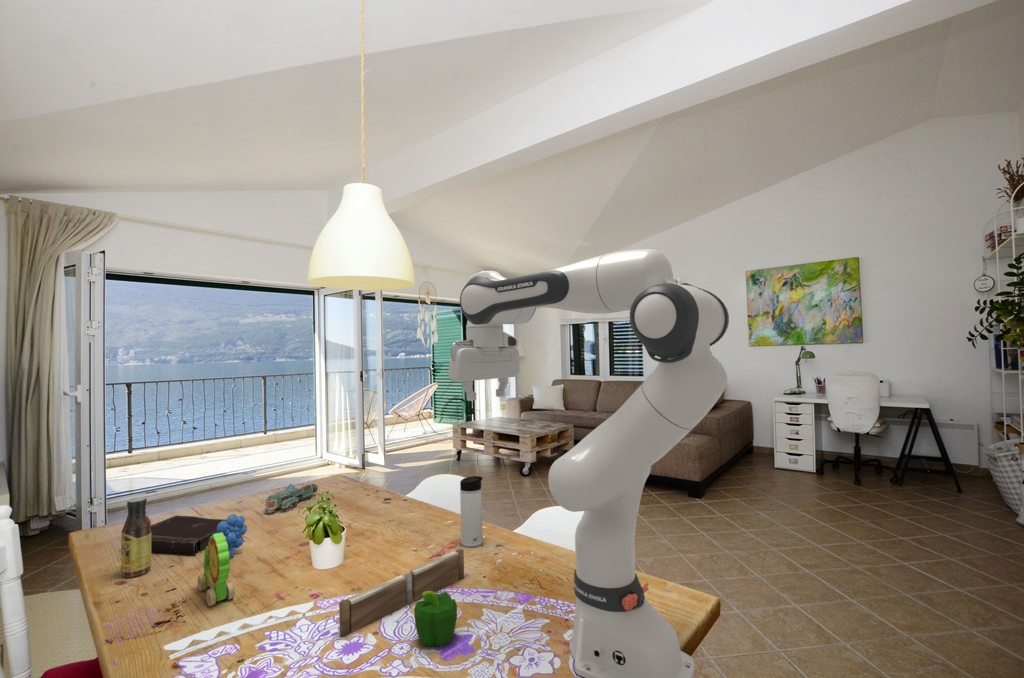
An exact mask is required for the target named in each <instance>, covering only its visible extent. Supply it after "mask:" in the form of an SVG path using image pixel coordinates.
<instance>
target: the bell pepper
mask: <svg viewBox="0 0 1024 678" xmlns="http://www.w3.org/2000/svg"><path fill="white" fill-rule="evenodd" d="M422 595H423V600H418V601H416V603H415V606H414V610H413V611H414V625H415V629H416V633H417V636H418V640H419V642H420V643H421V644H422V645H423V646H425V647H431V648H432V647H434V646H436V647H444V646H445V645H447V644H448V643H450V642H451V640H452V639H453V636H454V633H455V629H456V625H457V619H458V604H457V602H456V600H455V598H452V597H451V595H450V594H449V593H448V592H447V591H445V592H441V593H436V592H432V591H425V592H424V593H422Z"/></svg>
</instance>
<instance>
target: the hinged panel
mask: <svg viewBox="0 0 1024 678" xmlns="http://www.w3.org/2000/svg"><path fill="white" fill-rule="evenodd" d="M464 552H465V551H464V549H462V548H460V549H459V548H458V549H456V550H453V551H451V552H449V553H447V554H445V555H442V556H440V557H437V558H435V559H432V560H431V561H428V562H426V563H424V564H423V563H422V564H421V565H419V566H416V567H414V568H412V569H410V570H409V573H411V574H412V602H418V601H420V600H421V599H424V597H423V595H422V593H424V592H425V591H432V592H435V593H436V592H438V591H439V590H442V589H443V588H445V587H448V586H450V585H452V584H454V583H456V582H458V581H459V580H464V579H465V557H464V556H465V555H464V554H465V553H464Z"/></svg>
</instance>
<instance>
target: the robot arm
mask: <svg viewBox="0 0 1024 678" xmlns="http://www.w3.org/2000/svg"><path fill="white" fill-rule="evenodd" d="M459 305H460V308H461V312H462V313H463V315H464V316H465V318H466V319H467V322H466V326H465V329H466V330H465V335H466V339H465V340H455V341H454V342H453V343H452V345H451V346H450V349H449V351H450V355H449V362H448V378H449V379H450V381H451V382H456V383H457V382H459V383H461V384H462V385H461V387H462V389H463V390H464V392H465V393H466V395H465V396H466V401H467V402H468V401H469V402H472V401H476V400H477V392H474V390H473V388H472V386H473V385H474V384H473V383H474V381H483V380H495V379H498V383H499V384H498V388H496V389H495V396H496V398H502V397H503V398H504V397H505V396H506V390H507V389H506V388H507V386H508V384H509V378H514V377H515V378H516V377H518V375H519V374H520V370H521V367H520V366H521V364H520V352H519V349H518V347H519V345H520V343H519V338H517V337H516V336H513V335H511V334H509V333H507V332H504V325H523V324H525V323H528V322H529V321H530V320H532V318H533V316H534V314H535V312H536V309H537V308H547V309H557V310H562V311H570V312H575V313H584V314H597V315H598V314H599V315H600V314H601V315H603V314H614V313H619V312H624V311H629V323H630V327H631V329H632V331H633V333H634V335H635V336H636V338H637V340H638V341H639V343H641V345H643V346H644V348H645V351H646V352H647V354H648V356H649V357H650V358H651V359H652V360H653V361H655V362H657V363H658V364H657V366H656V367H655V369H654V370H653V372H652V373H650V375H648V376H647V378H646V379H645V380H643V382H641V384H640V385H639V386H638V388H637V389H635V391H634V392H633V393H632V394H631V395H630V396H629V398H628V399H626V401H624V403H623V404H622V405H621V406H620V407H619V408H618V409H617V410H616V411H615V412H614V413H612V415H610V416H609V417H608V418H607V419H606V420H604V421H603V422H601V424H599V425H597V426H596V428H594V429H593V430H592V431H590V432H589V433H588V434H587V435H586V436H585V437H584V438H582V439H581V440H580V441H579V442H578V443H577V444H575V445H574V446H573V447H572V448H570V449H569V450H568V451H567V452H566V453H564V454H563V455H561V456H560V457H558V458H557V459H556V460H554V462H553V463H552V465H550V468H549V471H548V479H547V480H548V481H547V482H548V489H549V491H550V493H551V496H552V498H553V499H554V500H555V502H556V503H557V504H558V506H560V507H561V508H563V509H565V510H567V511H569V512H573V513H574V512H575V513H576V512H583V514H582V516H581V519H580V520H579V522H578V524H577V526H576V527H575V528H576V529H575V534H574V542H575V543H574V546H575V547H574V548H575V549H574V550H575V570H574V572H573V591H574V595H575V613H574V623H573V629H572V633H571V638H570V640H569V641H570V642H569V652H570V654H571V656H572V658H573V660H574V671H575V673H576V674H577V675H578V676H580V677H583V678H694V676H695V669H696V668H695V663H694V659H693V657H692V656H691V655H689V654H688V653H686V652H684V651H683V650H681V647H680V642H679V638H678V634H677V632H676V630H675V628H674V627H673V625H671V623H670V622H668V621H667V620H666V619H665V618H664V616H663V615H662V614H660V612H659V611H658V610H656V608H655V606H653V605H652V603H650V602H649V601H648V600H647V598H646V596H645V593H647V592H648V591H649V589H650V588H649V587H648V586H649V583H648V582H647V583H645V584H644V585H643V586H642V584H641V582H640V579H639V577H638V575H637V573H636V562H635V561H636V560H635V559H636V555H635V553H636V552H635V549H636V547H635V540H636V539H635V538H636V536H635V535H636V527H637V521H638V520H637V519H638V514H639V510H640V505H641V499H642V494H643V490H644V487H645V484H646V482H647V479H648V478H649V476H650V473H651V471H652V466H653V465H654V464H655V463H657V462H658V461H660V460H661V459H662V458H664V457H665V456H666V455H667V454H668V453H669V452H670V451H671V450H672V449H673V448H674V447H675V446H676V445H677V444H678V443H680V441H682V439H684V437H686V436H687V435H688V434H689V433H690V432H691V431H692V430H693V429H694V428H695V427H696V426H697V425H698V424H699V423H700V422H701V421H702V420H703V419H704V417H706V415H707V414H708V413H709V412H710V411H711V410H712V408H713V407H714V406H715V405H716V403H717V402H718V401H719V399H720V397H721V396H722V395H723V393H724V392H725V391H726V390H725V389H726V388H727V385H728V375H727V371H726V370H725V367H724V366H723V364H722V363H721V361H720V360H719V359H718V358H717V357H716V356H714V355H713V352H712V351H711V346H713V345H715V344H717V342H719V341H720V340H721V339H722V338H723V337H724V336H725V334H726V332H727V330H728V328H729V327H728V326H729V323H730V315H729V314H730V313H729V310H728V308H727V306H726V305H725V303H724V302H723V301H722V299H720V298H719V297H718V296H717V295H716V294H714V293H712V292H711V291H709V290H706V289H704V288H701V287H697V286H695V285H693V284H690V283H688V282H683V283H678V282H677V281H676V280H675V278H674V273H673V268H672V265H671V262H670V261H669V259H668V257H667V256H666V255H665V254H664V253H663V252H661V251H659V250H658V249H654V248H639V249H627V250H618V251H613V252H610V253H606V254H601V255H597V256H593V257H590V258H586V259H584V260H581V261H578V262H575V263H574V262H573V263H571V264H567V265H564V266H561V267H557V268H553V269H550V270H547V271H546V270H545V271H543V272H538V273H537V272H536V273H533V274H527V275H522V276H516V277H511V278H507V277H504V276H502V274H500V273H499V272H498V271H496V270H493V269H492V270H490V269H488V270H487V269H485V270H480V271H476V272H473V273H472V274H470V275H469V277H468V279H467V283H466V284H465V285H464V287H462V290H461V292H460V297H459Z"/></svg>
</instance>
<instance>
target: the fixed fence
mask: <svg viewBox="0 0 1024 678" xmlns="http://www.w3.org/2000/svg"><path fill="white" fill-rule="evenodd" d="M338 602H339V603H338V605H339V606H338V608H339V610H338V611H339V612H338V613H339V636H340V637H342V638H345V637H348V636H350V635H351V634H352V633H354V632H357V631H358V630H361V629H363V628H364V627H367V626H369V625H370V624H373V623H375V622H377V621H379V620H381V619H383V618H385V617H387V616H389V615H392V614H393V613H395V612H397V611H400V610H401V609H403V608H405V607H407V606H408V605H412V604H413V600H412V574H411V573H410V572H406V573H405V574H404V576H403V575H398V576H396V577H393V578H392V579H390V580H387V581H384V582H382V583H379V584H378V585H375V586H373V587H370V588H368V589H366V590H364V591H362V592H359V593H357V594H355V595H352V596H350V597H347V598H345V599H341V600H340V601H338Z"/></svg>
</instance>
